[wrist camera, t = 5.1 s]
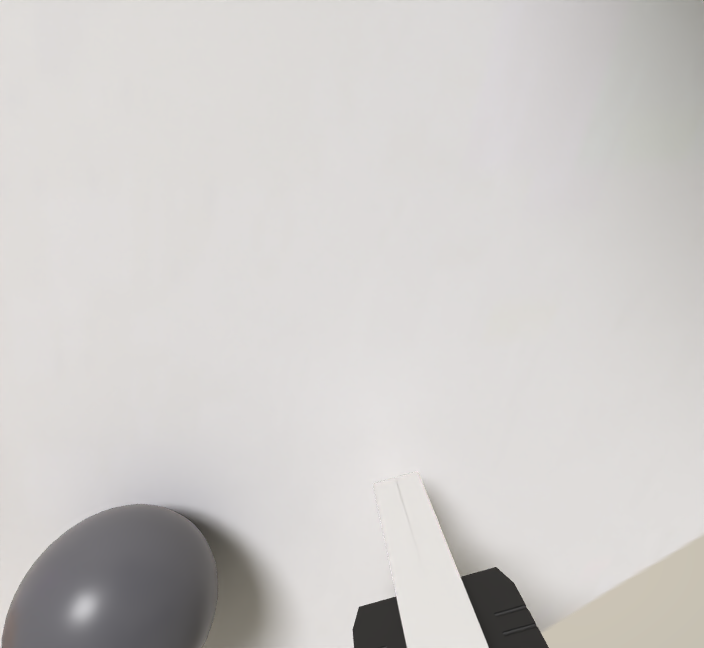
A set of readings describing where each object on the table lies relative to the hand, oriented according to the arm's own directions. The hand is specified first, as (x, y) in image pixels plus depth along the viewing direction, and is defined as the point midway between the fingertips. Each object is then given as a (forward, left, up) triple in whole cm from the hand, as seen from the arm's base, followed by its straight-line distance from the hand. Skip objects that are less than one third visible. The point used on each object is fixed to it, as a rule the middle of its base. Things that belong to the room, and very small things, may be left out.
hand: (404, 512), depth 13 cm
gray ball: (0, -9, +1) cm, 9 cm away
